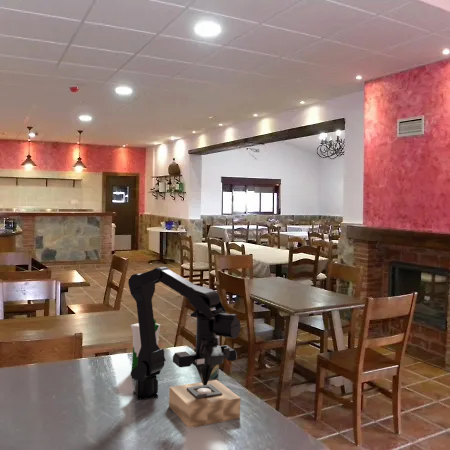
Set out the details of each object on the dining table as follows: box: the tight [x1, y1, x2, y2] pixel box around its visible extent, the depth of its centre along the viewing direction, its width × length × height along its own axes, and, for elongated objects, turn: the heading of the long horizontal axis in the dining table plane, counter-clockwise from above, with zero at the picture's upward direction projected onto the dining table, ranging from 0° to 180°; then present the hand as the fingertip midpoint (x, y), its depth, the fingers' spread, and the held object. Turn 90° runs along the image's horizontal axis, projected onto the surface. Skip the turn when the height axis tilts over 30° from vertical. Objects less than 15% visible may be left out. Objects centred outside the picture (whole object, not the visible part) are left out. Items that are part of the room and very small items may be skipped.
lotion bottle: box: [208, 335, 221, 381], centre depth 174 cm, size 6×6×20 cm
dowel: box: [197, 388, 211, 395], centre depth 145 cm, size 4×4×6 cm
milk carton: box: [130, 318, 161, 372], centre depth 177 cm, size 9×9×20 cm
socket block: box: [168, 379, 241, 429], centre depth 145 cm, size 16×16×7 cm
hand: (204, 384), depth 145 cm, fingers closed
